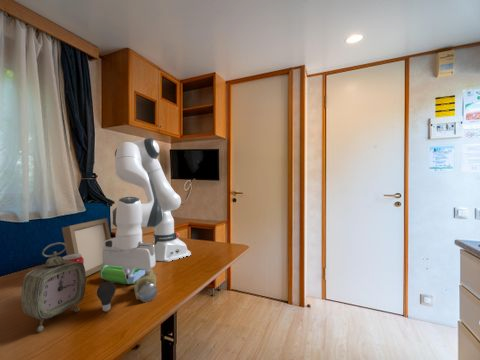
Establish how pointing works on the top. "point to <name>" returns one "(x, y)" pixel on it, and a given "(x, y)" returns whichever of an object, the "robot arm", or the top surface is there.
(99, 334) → the top surface
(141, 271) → the lever
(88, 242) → the photo frame
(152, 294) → the valve
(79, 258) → the soda can
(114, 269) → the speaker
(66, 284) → the tabletop clock
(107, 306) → the light bulb
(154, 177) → the robot arm
